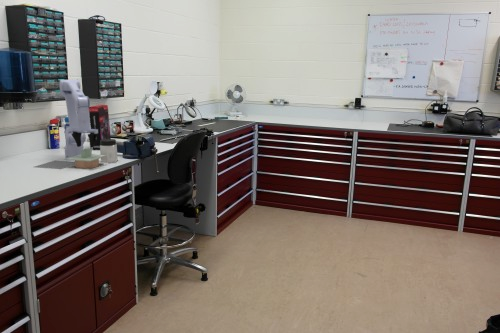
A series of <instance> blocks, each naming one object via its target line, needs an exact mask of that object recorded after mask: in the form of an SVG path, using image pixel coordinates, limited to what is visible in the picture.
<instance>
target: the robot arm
mask: <svg viewBox="0 0 500 333" xmlns="http://www.w3.org/2000/svg"><path fill="white" fill-rule="evenodd" d="M58 83H59V86H58V87H59V91H60V92H59V93H60V95H61V97H64V99H65V104H66V110H67V111H66V112H67V117H68V119H69V125H70V127H68V128H67V129H66V131H65V130H64V131H65V133H64V136H65V145H64V157H65V158H64V161H67V160H66V159H67V158H70V157H74V156H77V155H81V150H83V149H84V144H85V142H86V141H87V137H88V140H89V148H91V149H93V147H94V143H95V140H96V137H97V135H98V134H97V133H98V129H91V127H90V117H89V107H91V103H90V98H89V96H88V95H87V96H86V95H85V94H84V92H83V90H81V82H80V80H79V79H62V78H61V79H60V80H59V82H58ZM86 134H87V135H86ZM86 136H87V137H86ZM66 143H67V144H66Z"/></svg>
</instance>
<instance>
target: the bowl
mask: <svg viewBox="0 0 500 333" xmlns="http://www.w3.org/2000/svg"><path fill="white" fill-rule="evenodd" d="M74 162H75V165H74V167H75V168H76V169H77V168H79V169H80V168H81V169H90V168H91V169H95V168H97V167H100V160H99V159H97V160H94V161H91V162H90V161H74Z"/></svg>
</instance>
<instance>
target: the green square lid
mask: <svg viewBox="0 0 500 333" xmlns="http://www.w3.org/2000/svg"><path fill="white" fill-rule="evenodd" d="M103 157H106V155H101V154H95V153H94V154H93V153H92V148H90V147H89V148H87V147H86V148H83V150H81V155H77V156H74V157H70V158H67V159H66V160H65V161H73V162H75V161H90V162H91V161H94V160H97V159H100V160H101V158H103Z"/></svg>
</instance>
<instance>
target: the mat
mask: <svg viewBox="0 0 500 333" xmlns="http://www.w3.org/2000/svg"><path fill="white" fill-rule="evenodd" d="M72 166H73V167H74V166H75V161H72V160H52V161H49V162H45V163H41V164H38V165H36V166H34V168H40V169H41V168H42V169H54V170H64V169H66V168H70V167H72Z"/></svg>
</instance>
